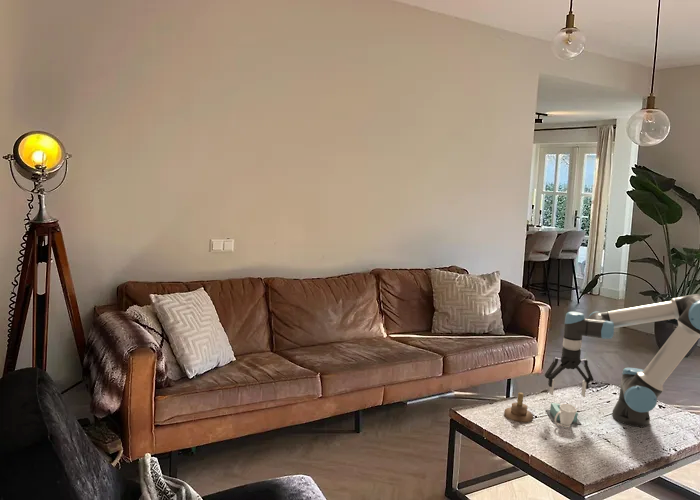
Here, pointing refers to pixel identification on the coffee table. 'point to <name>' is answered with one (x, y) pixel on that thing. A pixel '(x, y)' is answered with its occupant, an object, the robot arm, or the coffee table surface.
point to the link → (556, 408)
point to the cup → (566, 415)
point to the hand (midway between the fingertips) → (567, 394)
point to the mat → (559, 420)
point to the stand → (518, 411)
